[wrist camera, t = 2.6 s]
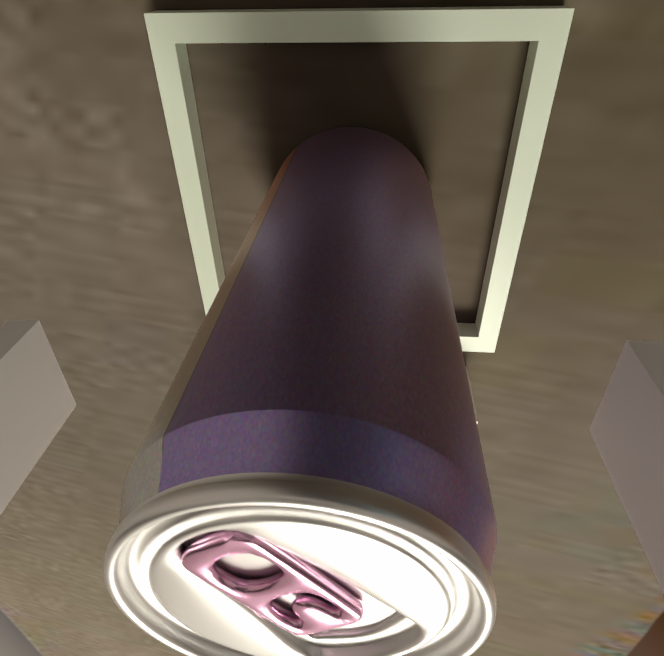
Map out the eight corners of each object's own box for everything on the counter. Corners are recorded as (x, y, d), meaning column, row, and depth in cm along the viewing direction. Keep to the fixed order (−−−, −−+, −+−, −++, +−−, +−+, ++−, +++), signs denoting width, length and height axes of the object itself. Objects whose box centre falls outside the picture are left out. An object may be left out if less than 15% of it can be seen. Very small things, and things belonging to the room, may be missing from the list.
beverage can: (368, 83, 17) (325, 413, 5) (460, 217, 19) (587, 655, 7) (243, 187, 19) (4, 574, 7) (338, 293, 22) (281, 710, 10)
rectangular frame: (156, 10, 16) (143, 13, 15) (564, 5, 15) (574, 8, 14) (216, 327, 23) (210, 340, 22) (490, 338, 22) (494, 352, 22)
